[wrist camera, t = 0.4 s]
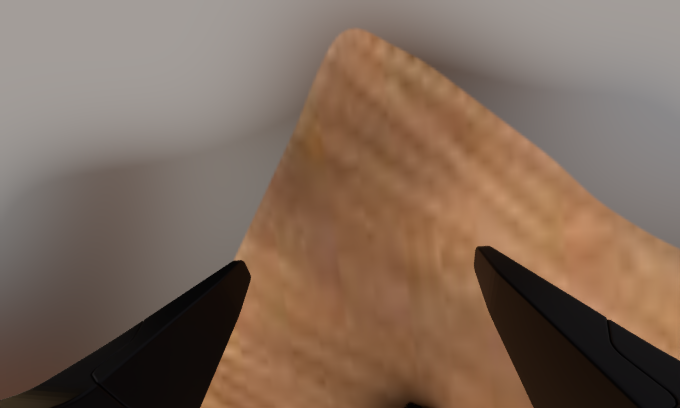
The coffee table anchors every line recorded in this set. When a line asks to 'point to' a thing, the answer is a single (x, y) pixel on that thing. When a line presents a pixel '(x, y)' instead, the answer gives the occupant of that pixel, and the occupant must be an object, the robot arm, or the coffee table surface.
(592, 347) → the robot arm
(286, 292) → the coffee table surface
